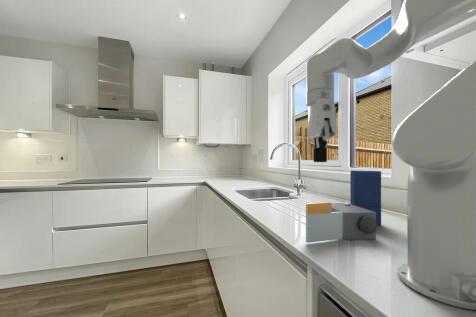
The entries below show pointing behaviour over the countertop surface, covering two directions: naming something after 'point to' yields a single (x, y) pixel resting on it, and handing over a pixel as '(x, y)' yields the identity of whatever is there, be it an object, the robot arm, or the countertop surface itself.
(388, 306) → the countertop surface
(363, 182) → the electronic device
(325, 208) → the side door
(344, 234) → the camera case
